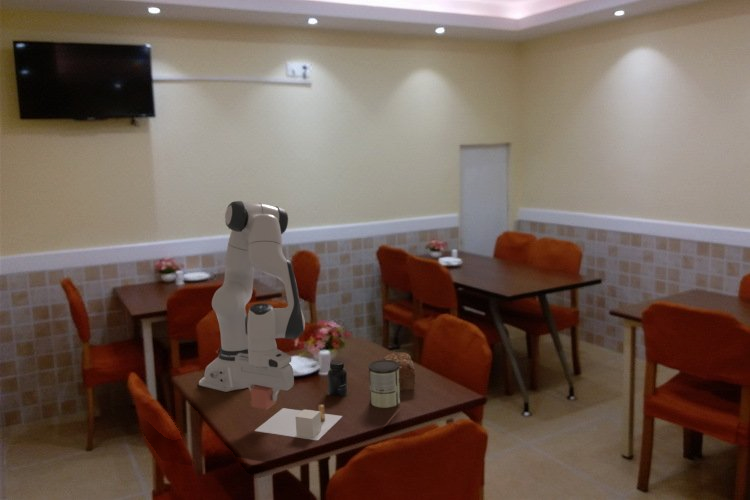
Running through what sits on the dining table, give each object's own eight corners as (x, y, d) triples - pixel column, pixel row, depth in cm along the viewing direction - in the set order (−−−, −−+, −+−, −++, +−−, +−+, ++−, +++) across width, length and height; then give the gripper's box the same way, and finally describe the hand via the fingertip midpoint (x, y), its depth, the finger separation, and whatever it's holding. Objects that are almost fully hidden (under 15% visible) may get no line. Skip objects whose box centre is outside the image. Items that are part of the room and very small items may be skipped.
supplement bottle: (345, 399, 227) (343, 366, 225) (326, 398, 229) (324, 365, 227) (349, 391, 234) (348, 359, 232) (331, 390, 235) (329, 359, 233)
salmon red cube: (251, 406, 204) (251, 388, 203) (261, 400, 209) (261, 382, 208) (266, 409, 202) (266, 391, 201) (276, 403, 207) (276, 385, 206)
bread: (416, 391, 232) (415, 364, 231) (386, 392, 232) (385, 366, 230) (410, 373, 251) (410, 348, 249) (383, 374, 250) (382, 349, 249)
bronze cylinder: (317, 421, 208) (316, 406, 207) (320, 418, 210) (319, 404, 209) (323, 422, 207) (322, 407, 206) (326, 419, 209) (325, 404, 208)
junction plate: (254, 433, 203) (254, 430, 203) (283, 410, 219) (283, 408, 219) (317, 443, 195) (317, 440, 195) (342, 419, 211) (342, 416, 211)
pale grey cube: (296, 435, 199) (295, 416, 198) (305, 427, 204) (304, 409, 203) (313, 437, 196) (312, 418, 195) (321, 429, 202) (320, 411, 201)
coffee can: (365, 401, 225) (364, 362, 222) (393, 396, 228) (392, 357, 226) (376, 412, 215) (375, 372, 213) (405, 407, 219) (404, 367, 216)
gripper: (229, 354, 204) (230, 396, 206) (285, 363, 196) (286, 407, 198) (241, 349, 210) (242, 389, 212) (296, 357, 201) (297, 399, 204)
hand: (264, 398), depth 205 cm, fingers closed on salmon red cube, 6 cm apart
